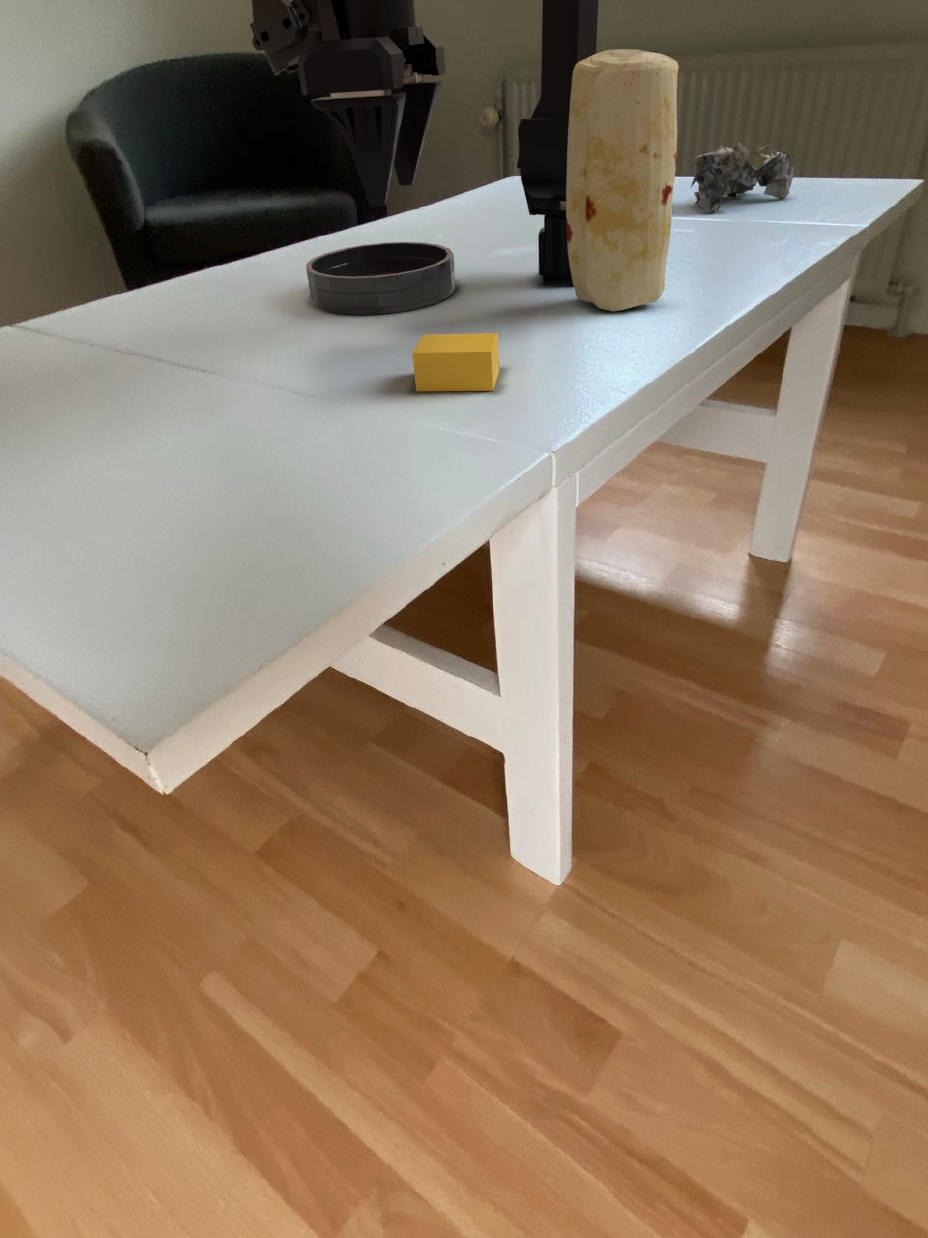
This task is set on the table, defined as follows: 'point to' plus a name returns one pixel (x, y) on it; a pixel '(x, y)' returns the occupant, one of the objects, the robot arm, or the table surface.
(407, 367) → the table surface
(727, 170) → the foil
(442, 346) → the sponge
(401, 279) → the pan
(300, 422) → the table surface
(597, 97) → the food model
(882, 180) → the table surface
